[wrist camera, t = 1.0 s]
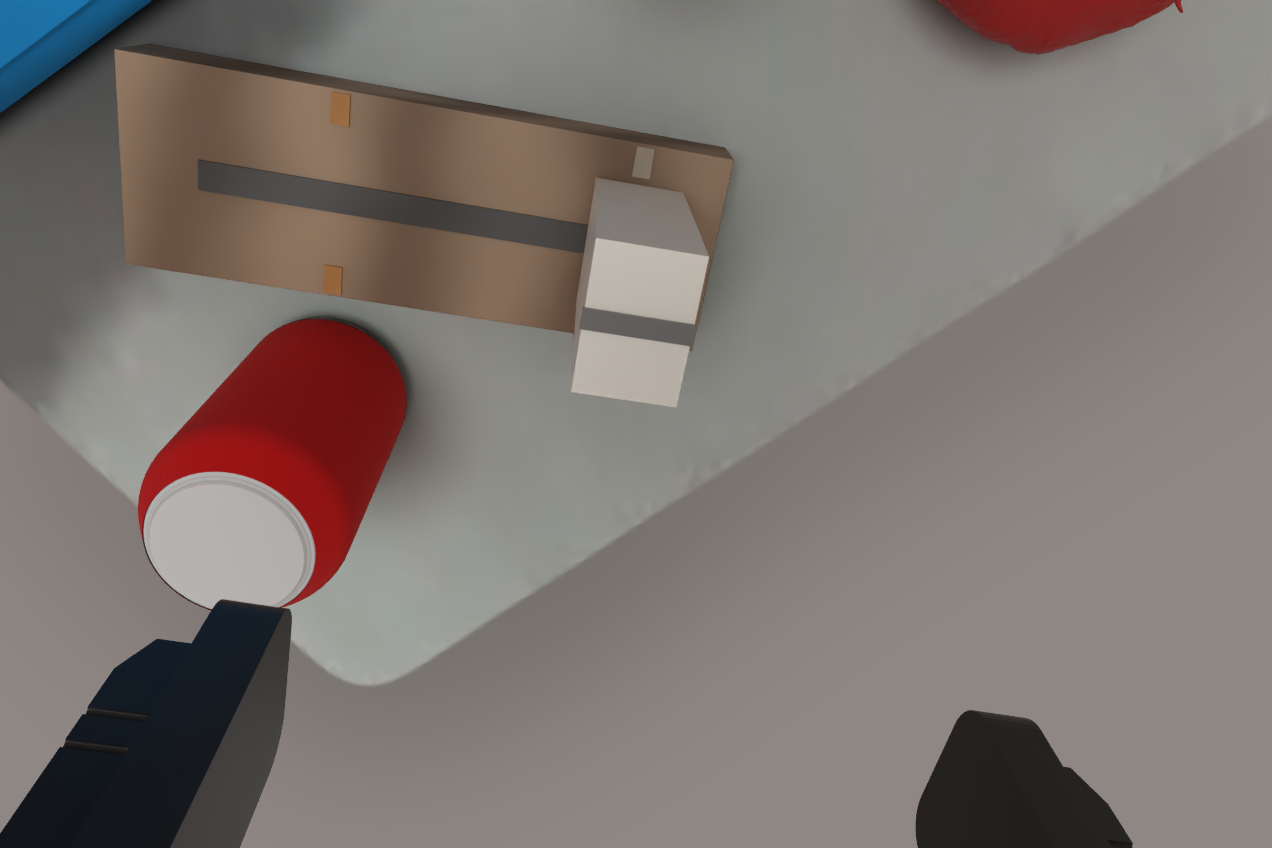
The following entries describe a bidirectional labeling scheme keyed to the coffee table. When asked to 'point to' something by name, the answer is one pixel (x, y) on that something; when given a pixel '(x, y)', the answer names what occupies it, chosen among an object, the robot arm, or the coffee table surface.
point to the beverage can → (274, 468)
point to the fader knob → (637, 294)
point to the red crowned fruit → (1051, 19)
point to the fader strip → (376, 187)
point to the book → (51, 37)
